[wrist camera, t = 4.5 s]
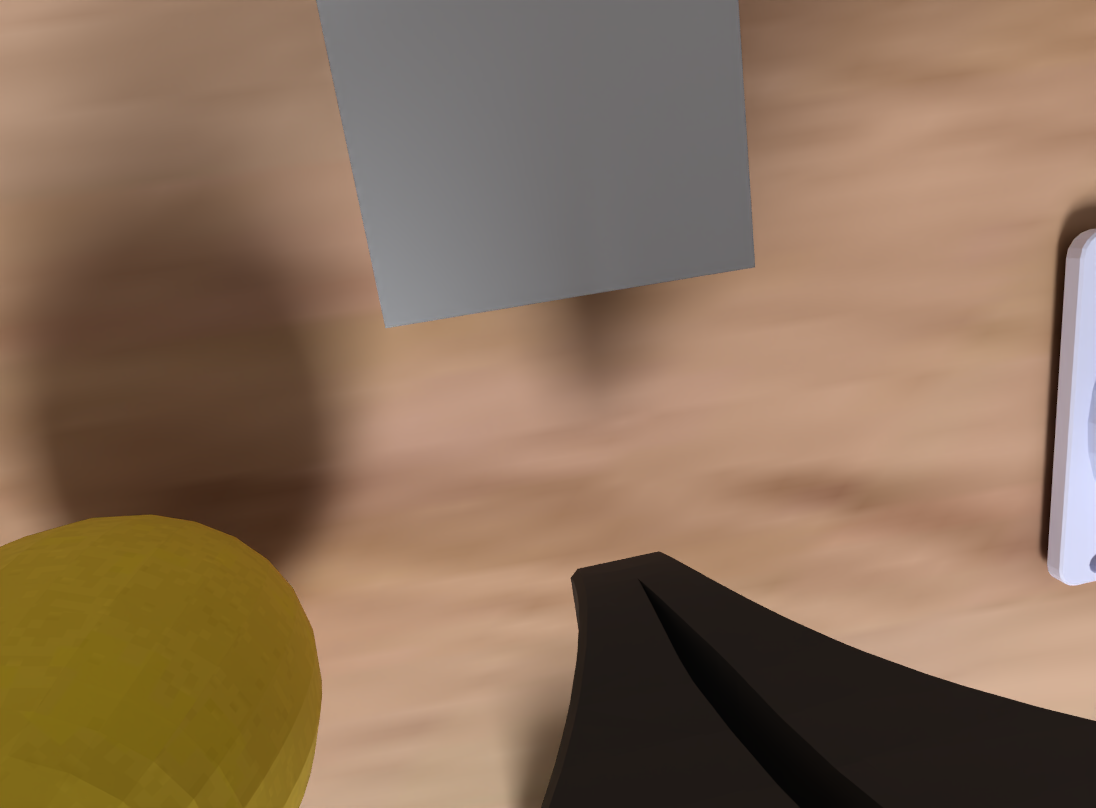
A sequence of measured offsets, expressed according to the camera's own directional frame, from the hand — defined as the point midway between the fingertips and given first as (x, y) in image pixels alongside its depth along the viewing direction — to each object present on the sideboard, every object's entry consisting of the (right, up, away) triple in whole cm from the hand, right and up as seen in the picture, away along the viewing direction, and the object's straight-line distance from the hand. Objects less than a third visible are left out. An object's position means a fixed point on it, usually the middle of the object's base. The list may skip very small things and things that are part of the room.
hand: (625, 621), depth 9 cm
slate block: (-2, +8, +2) cm, 8 cm away
